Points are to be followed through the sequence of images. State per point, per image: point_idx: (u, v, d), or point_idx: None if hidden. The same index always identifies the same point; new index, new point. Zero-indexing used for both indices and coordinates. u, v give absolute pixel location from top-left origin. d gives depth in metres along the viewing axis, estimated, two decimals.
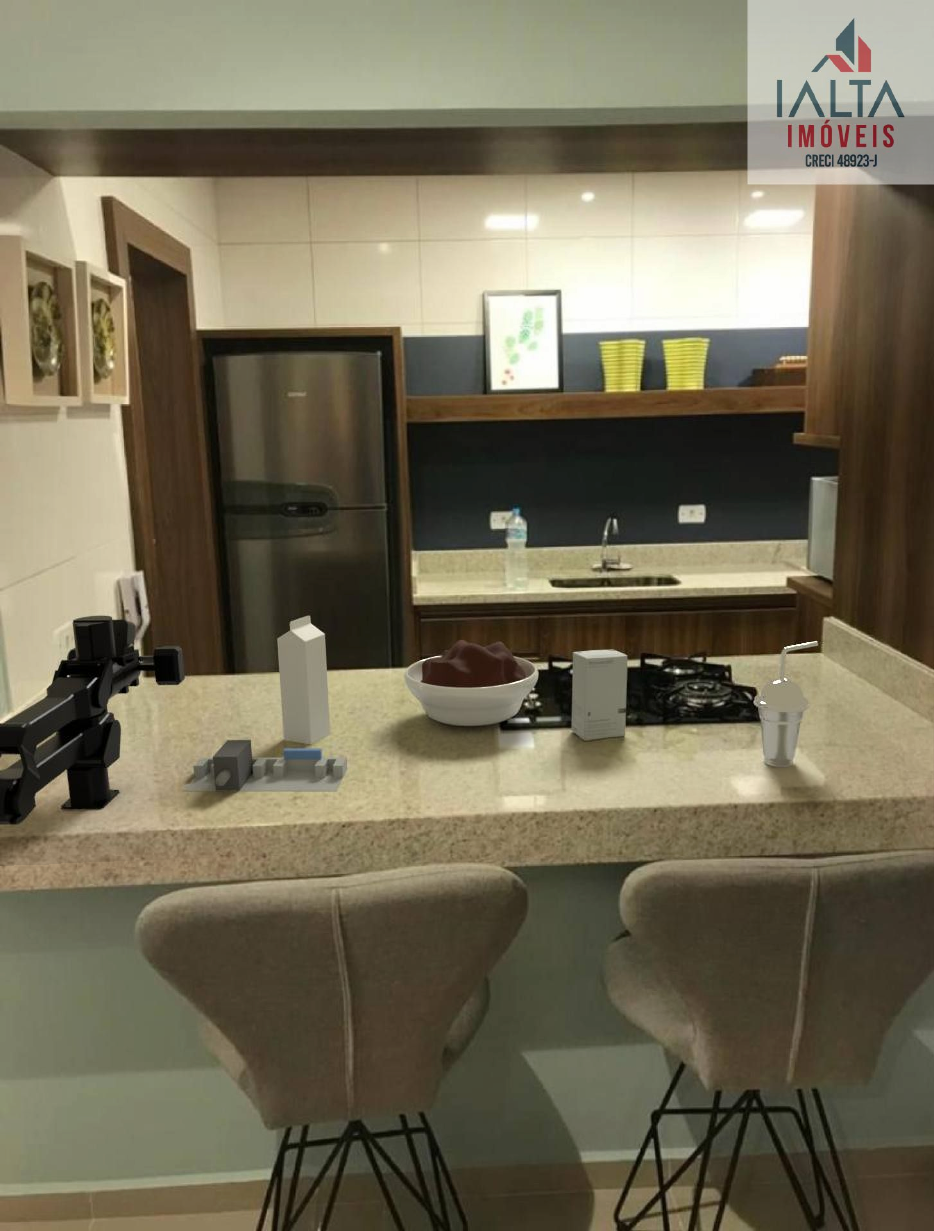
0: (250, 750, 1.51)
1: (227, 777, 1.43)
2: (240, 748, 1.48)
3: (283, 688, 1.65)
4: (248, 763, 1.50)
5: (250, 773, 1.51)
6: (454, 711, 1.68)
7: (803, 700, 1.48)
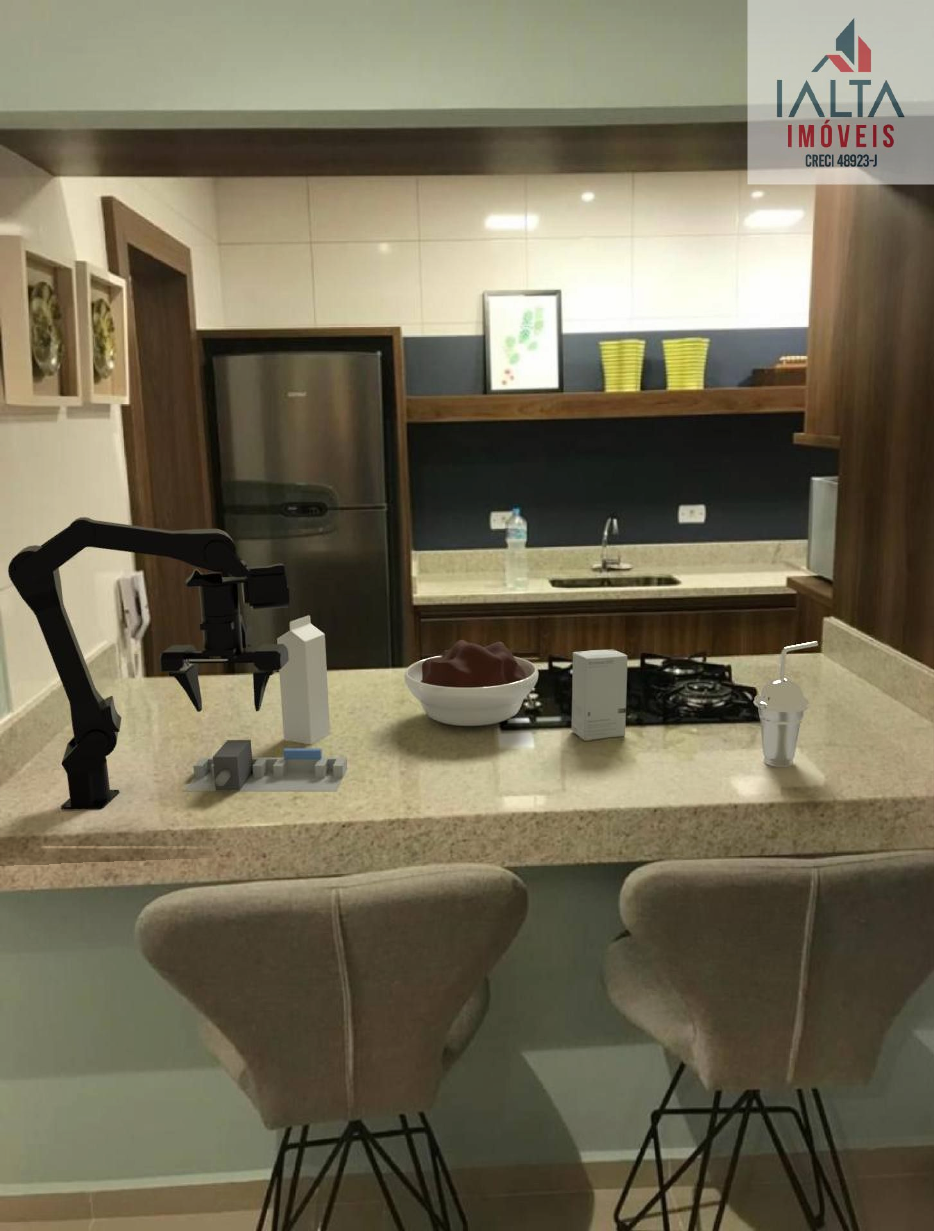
0: (250, 750, 1.51)
1: (227, 777, 1.43)
2: (240, 748, 1.48)
3: (283, 688, 1.65)
4: (248, 763, 1.50)
5: (250, 773, 1.51)
6: (454, 711, 1.68)
7: (803, 700, 1.48)
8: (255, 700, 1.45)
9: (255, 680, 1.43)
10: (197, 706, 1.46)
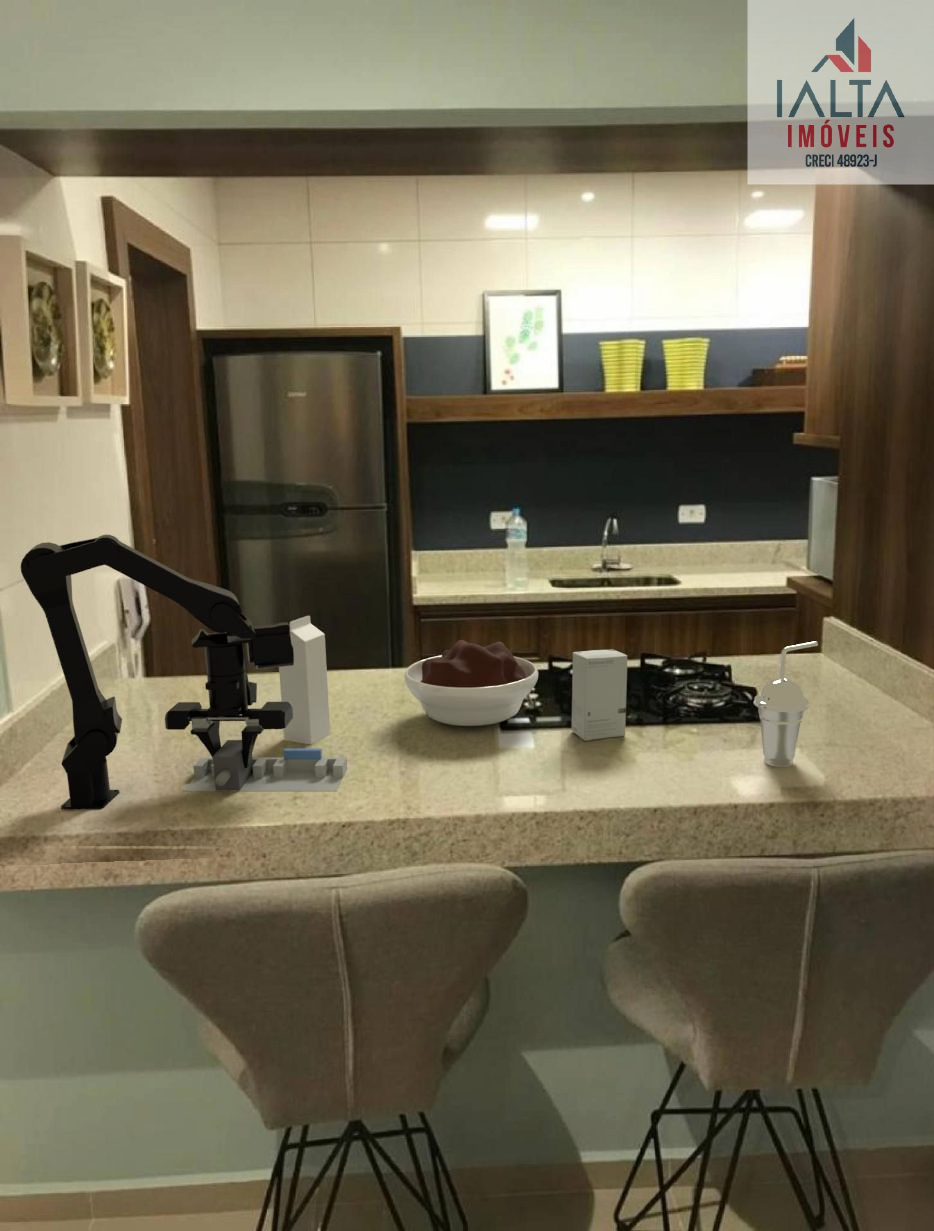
0: None
1: (227, 777, 1.43)
2: (240, 748, 1.48)
3: (283, 688, 1.65)
4: None
5: (250, 773, 1.51)
6: (454, 711, 1.68)
7: (803, 700, 1.48)
8: (244, 757, 1.47)
9: (243, 738, 1.45)
10: None
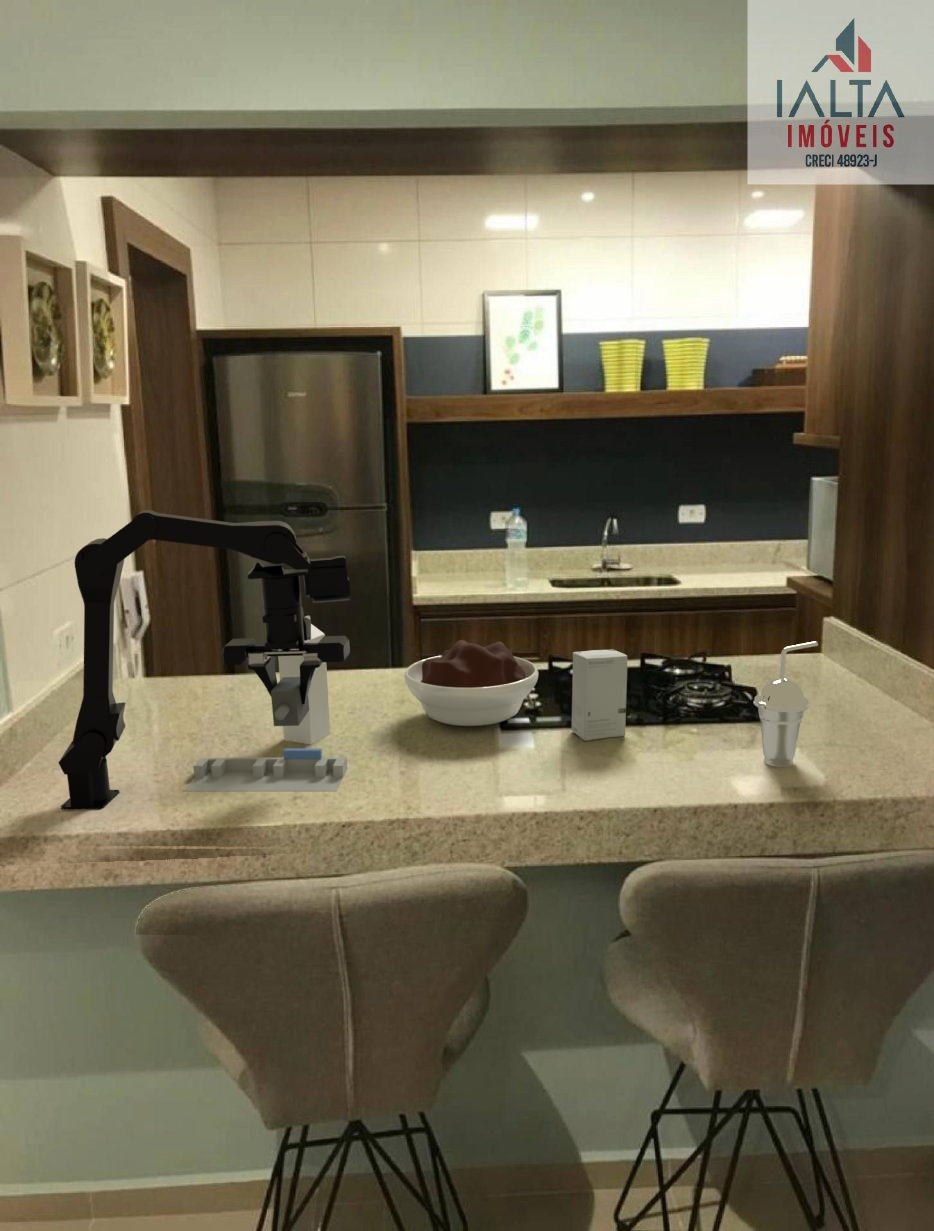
0: None
1: (286, 711, 1.41)
2: (297, 683, 1.45)
3: None
4: None
5: (307, 710, 1.49)
6: (454, 711, 1.68)
7: (803, 700, 1.48)
8: (301, 693, 1.44)
9: (302, 673, 1.42)
10: None
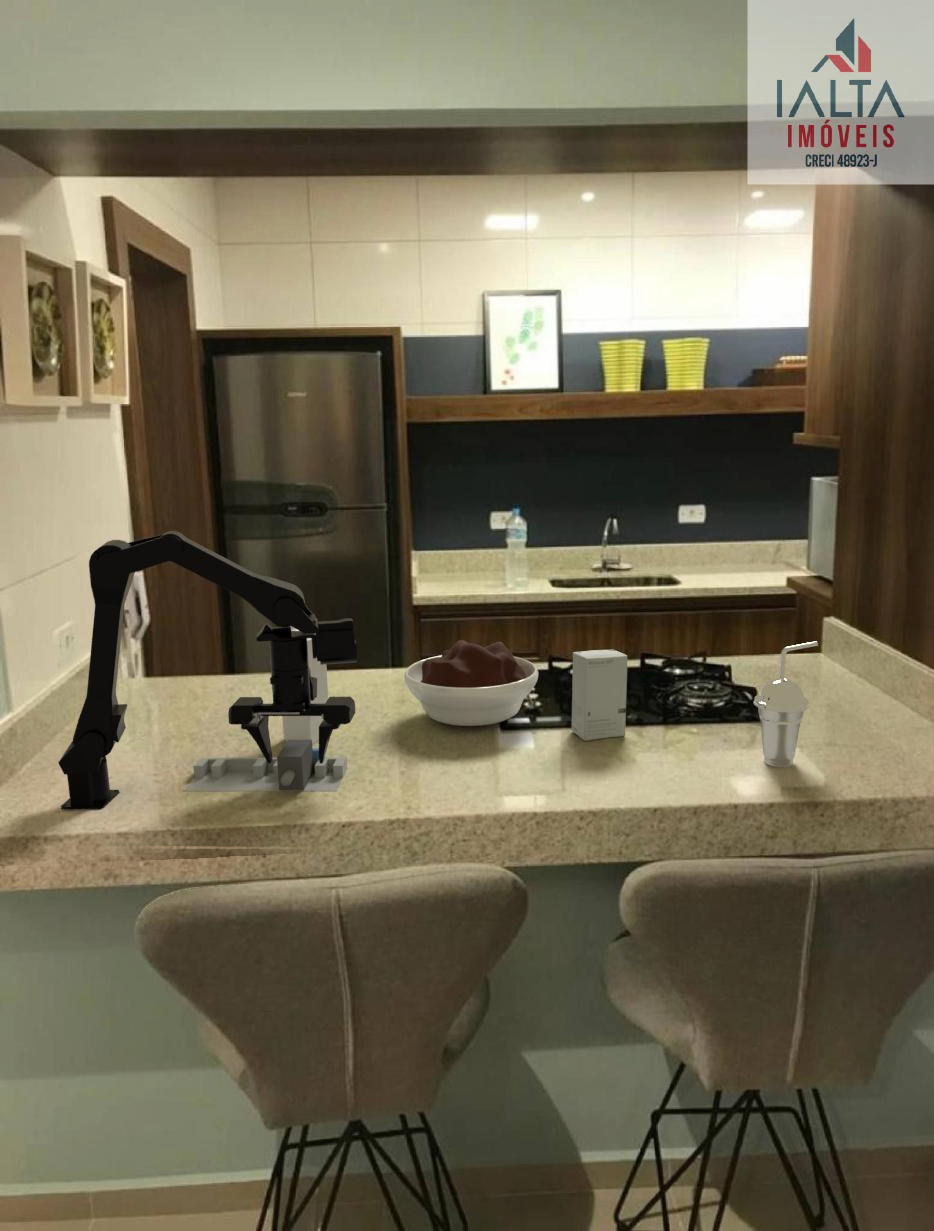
0: (311, 750, 1.51)
1: (292, 777, 1.43)
2: (303, 747, 1.47)
3: None
4: (310, 763, 1.50)
5: (311, 773, 1.51)
6: (454, 711, 1.68)
7: (803, 700, 1.48)
8: (320, 753, 1.46)
9: (321, 733, 1.44)
10: (268, 758, 1.47)
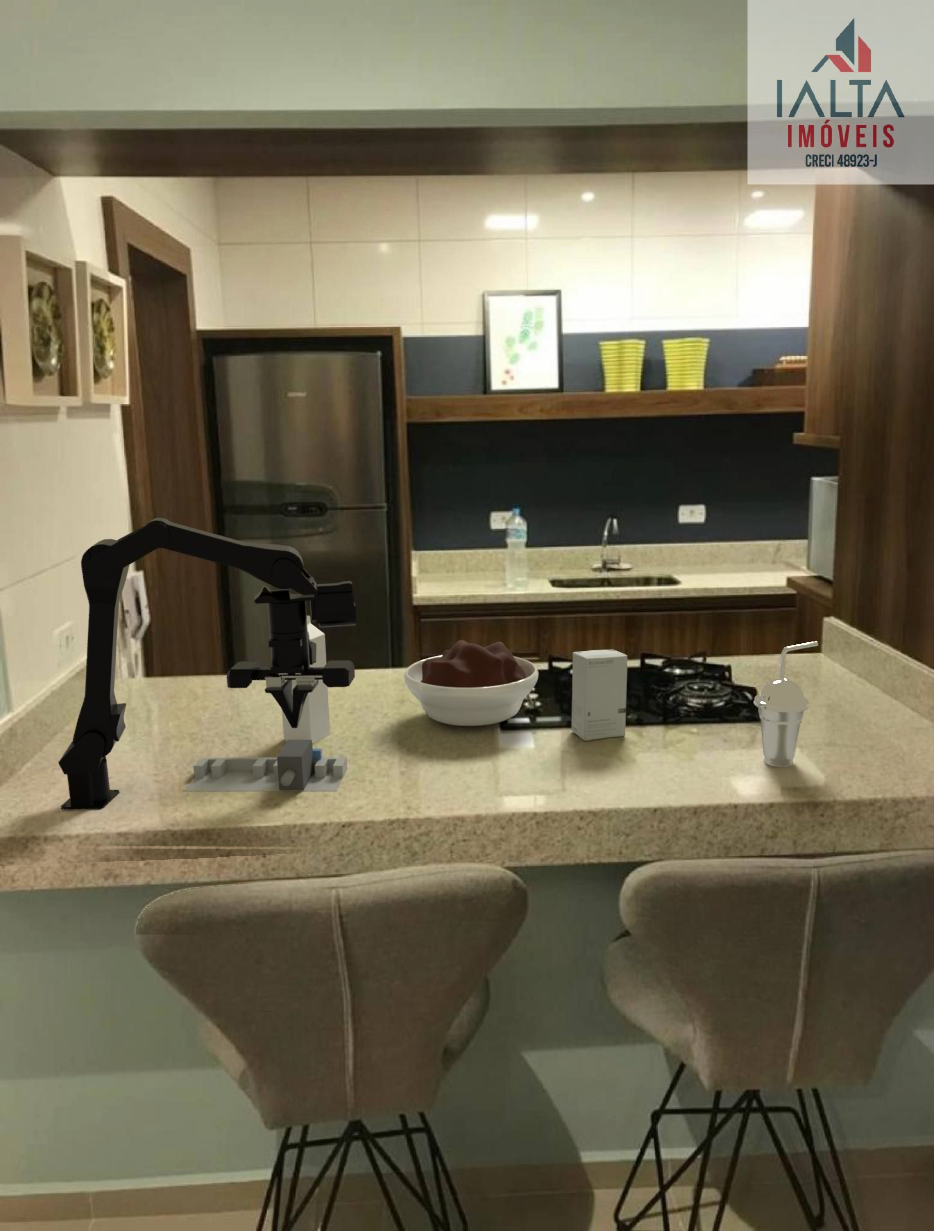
0: (311, 750, 1.51)
1: (292, 777, 1.43)
2: (303, 747, 1.47)
3: None
4: (310, 763, 1.50)
5: (311, 773, 1.51)
6: (454, 711, 1.68)
7: (803, 700, 1.48)
8: (294, 717, 1.45)
9: (294, 697, 1.43)
10: (292, 722, 1.46)
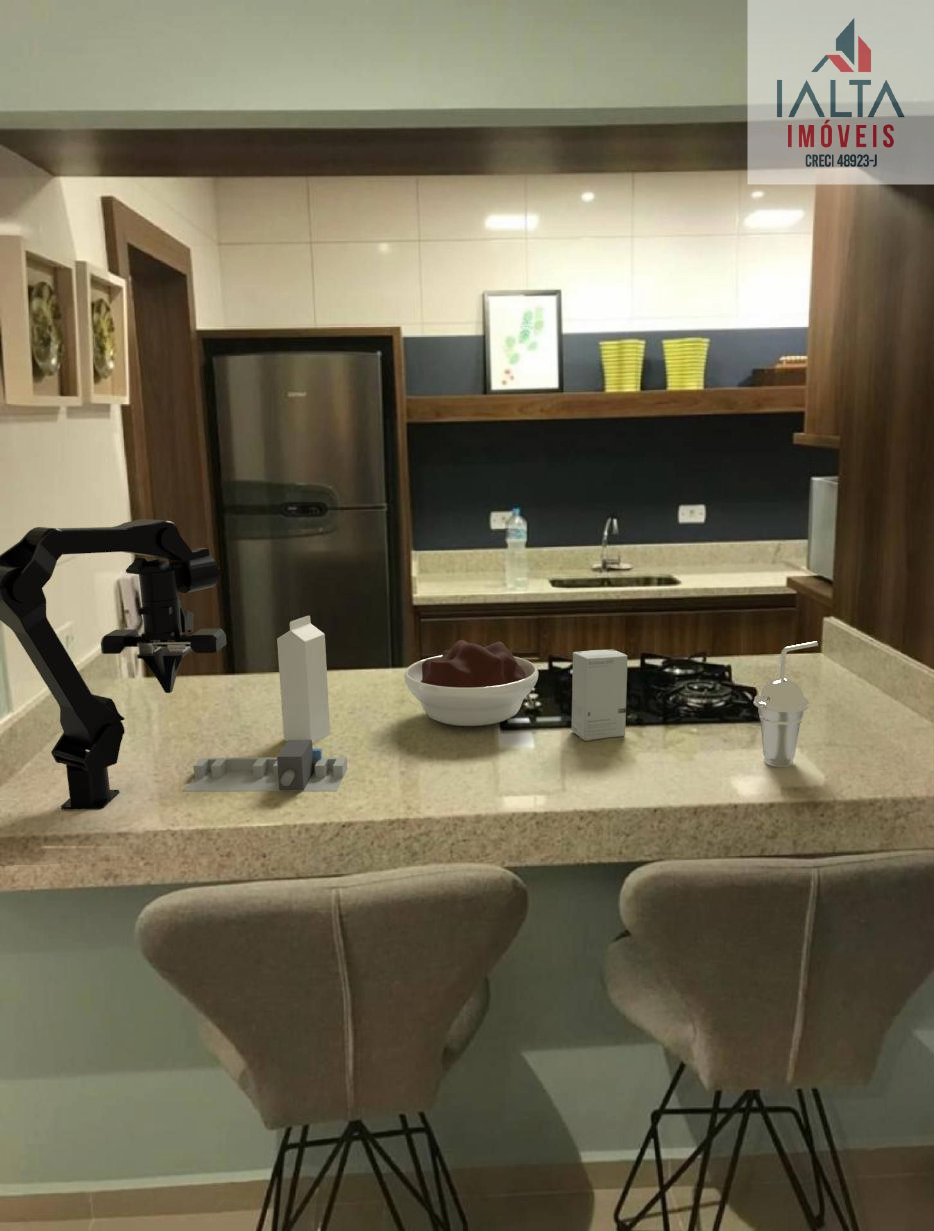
0: (311, 750, 1.51)
1: (292, 777, 1.43)
2: (303, 747, 1.47)
3: (283, 688, 1.65)
4: (310, 763, 1.50)
5: (311, 773, 1.51)
6: (454, 711, 1.68)
7: (803, 700, 1.48)
8: (166, 682, 1.52)
9: (165, 663, 1.50)
10: (165, 687, 1.53)
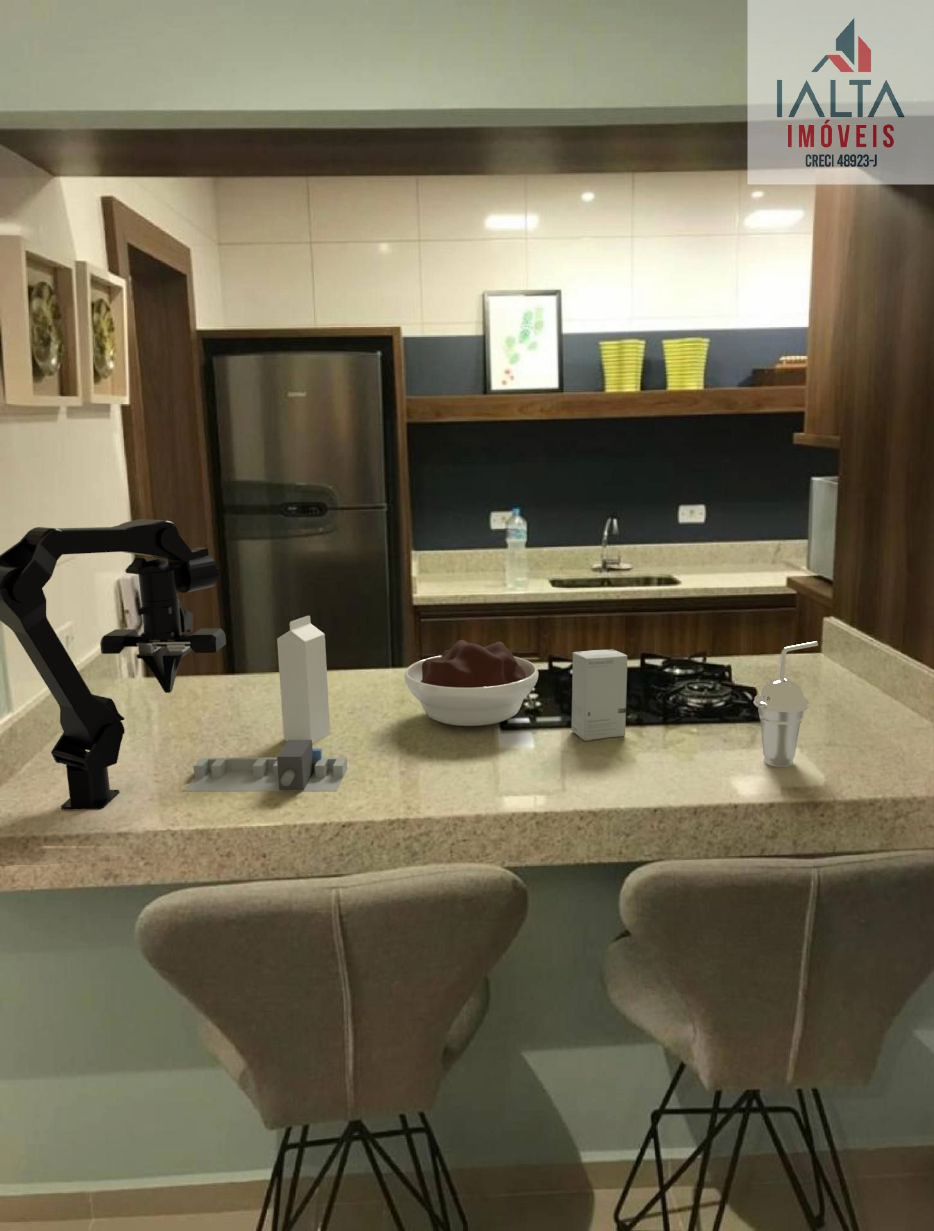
0: (311, 750, 1.51)
1: (292, 777, 1.43)
2: (303, 747, 1.47)
3: (283, 688, 1.65)
4: (310, 763, 1.50)
5: (311, 773, 1.51)
6: (454, 711, 1.68)
7: (803, 700, 1.48)
8: (166, 682, 1.52)
9: (165, 663, 1.50)
10: (165, 687, 1.53)
